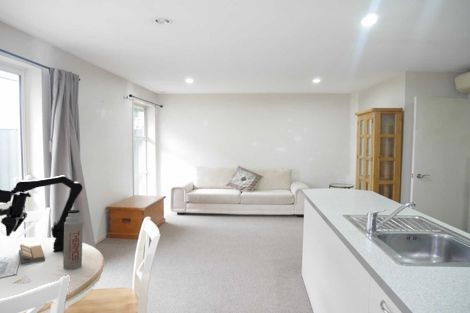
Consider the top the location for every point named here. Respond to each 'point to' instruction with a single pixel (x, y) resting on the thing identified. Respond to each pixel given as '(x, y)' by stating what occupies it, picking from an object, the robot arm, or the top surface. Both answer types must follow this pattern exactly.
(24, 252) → the plank
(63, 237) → the robot arm
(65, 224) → the thermos bottle
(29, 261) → the floor panel
